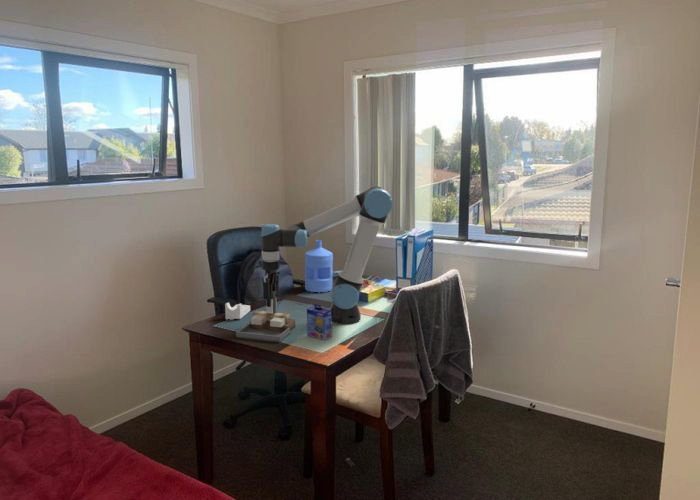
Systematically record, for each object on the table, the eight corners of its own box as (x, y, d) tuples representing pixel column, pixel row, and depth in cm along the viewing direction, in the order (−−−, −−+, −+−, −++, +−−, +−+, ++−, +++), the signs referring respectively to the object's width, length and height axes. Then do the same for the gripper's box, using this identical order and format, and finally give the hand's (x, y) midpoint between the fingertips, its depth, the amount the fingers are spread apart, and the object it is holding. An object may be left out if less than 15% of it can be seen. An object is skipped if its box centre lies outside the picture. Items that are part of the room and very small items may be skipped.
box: (289, 333, 232) (289, 328, 231) (280, 342, 221) (279, 337, 221) (247, 329, 237) (247, 323, 236) (236, 337, 226) (235, 332, 226)
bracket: (240, 320, 248) (239, 305, 247) (225, 319, 250) (225, 304, 248) (250, 312, 261) (250, 297, 260) (236, 311, 262) (236, 296, 261)
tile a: (285, 323, 234) (285, 318, 233) (280, 327, 229) (280, 321, 229) (275, 322, 235) (274, 317, 235) (270, 326, 231) (270, 320, 230)
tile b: (266, 321, 236) (266, 316, 236) (261, 325, 232) (261, 319, 231) (255, 320, 238) (255, 315, 237) (250, 323, 233) (250, 318, 233)
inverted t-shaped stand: (289, 320, 237) (289, 292, 234) (287, 322, 234) (286, 294, 231) (256, 316, 241) (255, 289, 238) (253, 319, 238) (252, 290, 235)
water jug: (309, 285, 311) (309, 237, 305) (335, 286, 307) (336, 238, 302) (301, 292, 296) (300, 242, 290) (328, 294, 292) (328, 243, 287)
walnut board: (295, 326, 240) (295, 319, 240) (287, 333, 232) (287, 325, 231) (258, 322, 245) (258, 315, 244) (249, 329, 237) (249, 321, 236)
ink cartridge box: (306, 335, 230) (306, 303, 227) (314, 332, 234) (314, 300, 231) (324, 340, 224) (324, 307, 221) (332, 336, 229) (332, 304, 226)
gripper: (270, 255, 240) (271, 305, 245) (254, 263, 225) (255, 316, 230) (286, 257, 238) (286, 307, 243) (270, 264, 223) (271, 318, 228)
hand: (271, 311), depth 237 cm, fingers closed on inverted t-shaped stand, 3 cm apart
